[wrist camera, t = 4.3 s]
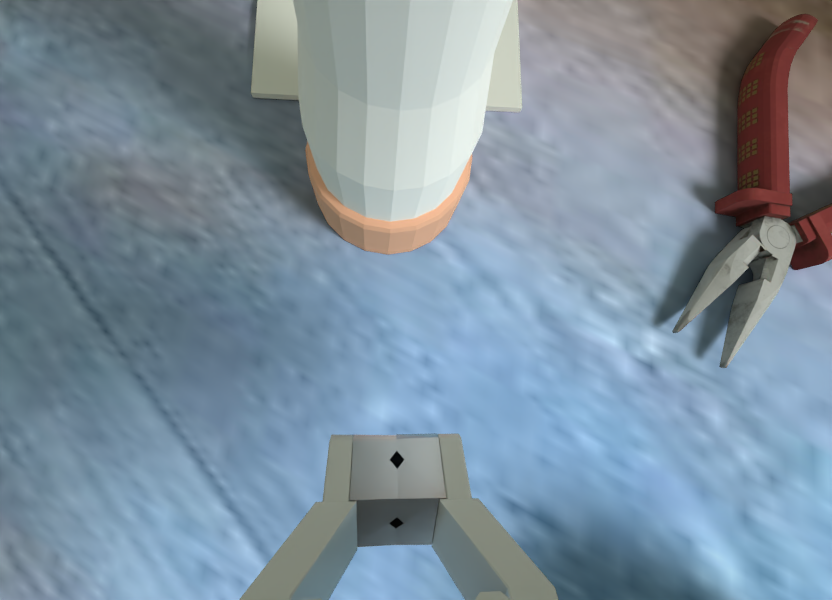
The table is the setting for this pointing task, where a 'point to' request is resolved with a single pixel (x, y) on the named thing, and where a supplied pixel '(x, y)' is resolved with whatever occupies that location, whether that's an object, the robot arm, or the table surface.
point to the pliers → (763, 197)
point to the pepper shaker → (393, 111)
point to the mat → (280, 57)
